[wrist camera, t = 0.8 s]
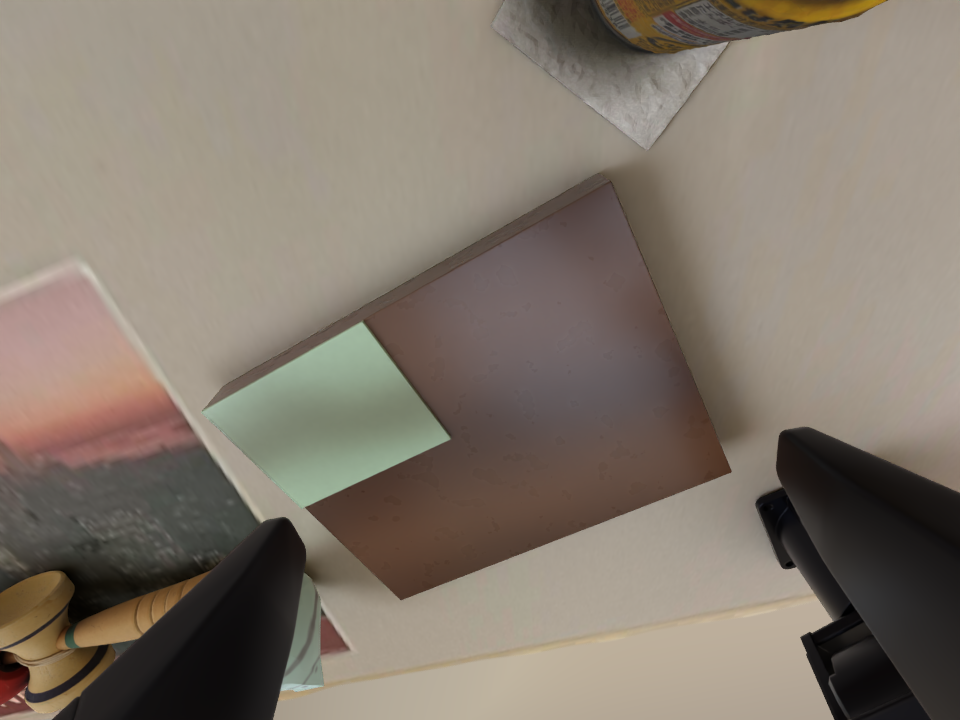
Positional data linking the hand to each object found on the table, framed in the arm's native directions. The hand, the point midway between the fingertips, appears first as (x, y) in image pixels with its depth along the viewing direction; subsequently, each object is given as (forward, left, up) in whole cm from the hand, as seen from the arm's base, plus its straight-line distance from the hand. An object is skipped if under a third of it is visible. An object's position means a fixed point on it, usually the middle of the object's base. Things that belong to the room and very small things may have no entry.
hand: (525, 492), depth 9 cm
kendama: (-7, +33, -14) cm, 36 cm away
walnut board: (-7, +5, -14) cm, 16 cm away
